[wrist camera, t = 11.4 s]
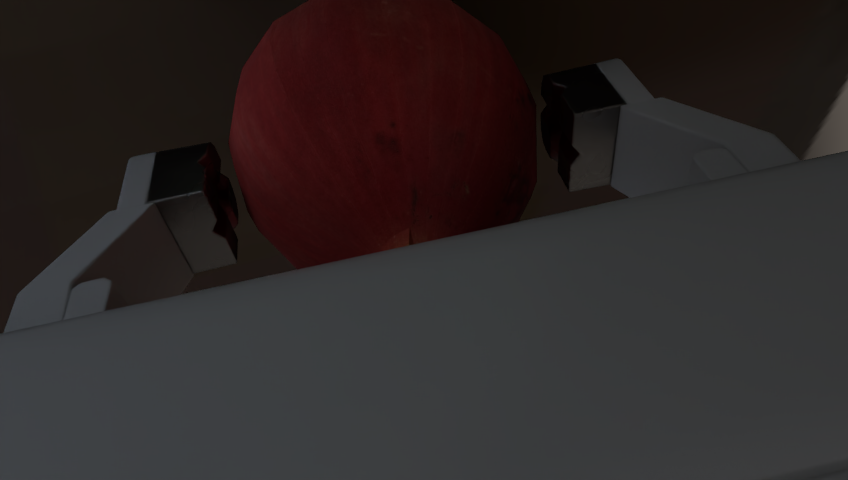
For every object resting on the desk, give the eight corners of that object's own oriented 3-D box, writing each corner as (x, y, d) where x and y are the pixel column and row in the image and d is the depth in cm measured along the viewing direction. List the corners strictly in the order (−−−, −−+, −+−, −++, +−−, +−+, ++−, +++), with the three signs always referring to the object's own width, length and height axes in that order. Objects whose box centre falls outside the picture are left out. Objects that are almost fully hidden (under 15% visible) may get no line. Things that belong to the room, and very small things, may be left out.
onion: (520, -37, 14) (696, 185, 9) (438, 168, 18) (523, 420, 12) (255, -113, 12) (256, 111, 7) (221, 135, 16) (203, 418, 10)
